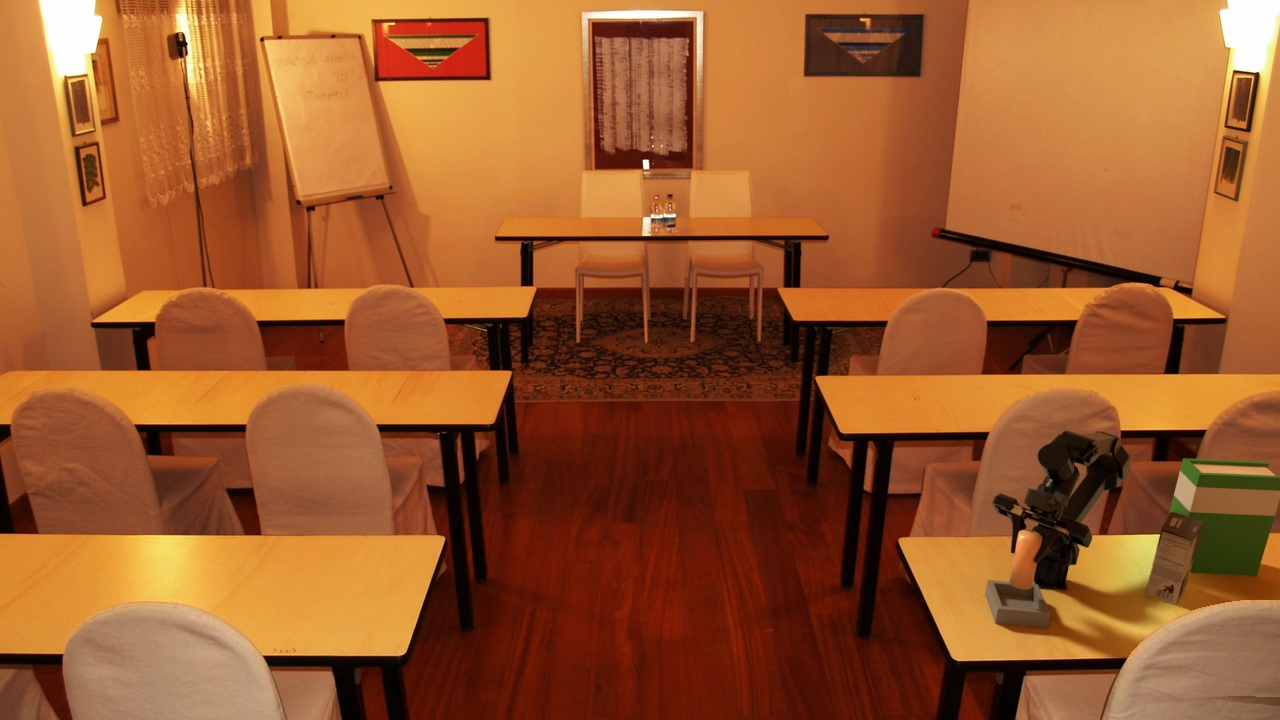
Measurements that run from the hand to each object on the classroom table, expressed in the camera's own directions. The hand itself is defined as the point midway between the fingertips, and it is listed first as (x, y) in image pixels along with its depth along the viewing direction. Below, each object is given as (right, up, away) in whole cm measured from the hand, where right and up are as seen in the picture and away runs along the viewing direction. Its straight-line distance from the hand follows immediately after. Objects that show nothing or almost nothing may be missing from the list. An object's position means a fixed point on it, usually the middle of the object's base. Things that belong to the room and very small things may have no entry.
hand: (1023, 557), depth 194 cm
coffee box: (+35, -10, +14) cm, 39 cm away
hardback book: (+50, -7, +24) cm, 55 cm away
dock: (+1, -12, +6) cm, 13 cm away
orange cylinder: (+1, -6, +3) cm, 7 cm away
